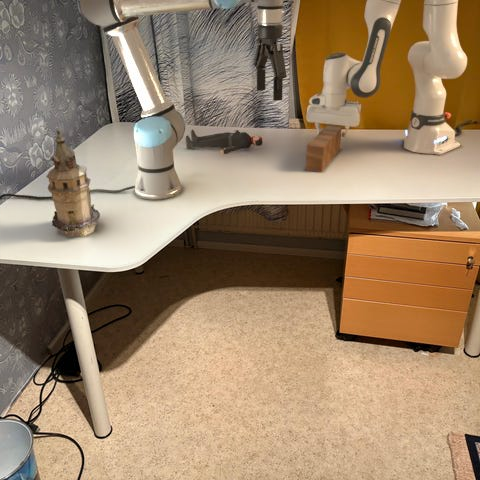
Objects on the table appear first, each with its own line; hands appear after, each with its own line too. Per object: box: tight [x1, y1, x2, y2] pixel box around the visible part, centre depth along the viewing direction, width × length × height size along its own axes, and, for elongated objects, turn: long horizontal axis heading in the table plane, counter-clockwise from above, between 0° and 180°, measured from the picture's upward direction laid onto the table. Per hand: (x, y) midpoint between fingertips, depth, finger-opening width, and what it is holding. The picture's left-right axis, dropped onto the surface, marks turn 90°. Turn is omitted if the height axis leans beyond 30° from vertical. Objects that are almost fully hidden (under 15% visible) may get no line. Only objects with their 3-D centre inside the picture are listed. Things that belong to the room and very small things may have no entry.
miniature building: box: [46, 129, 101, 237], centre depth 148 cm, size 13×14×30 cm
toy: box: [185, 129, 264, 156], centre depth 213 cm, size 26×6×30 cm
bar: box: [305, 124, 343, 173], centre depth 199 cm, size 25×6×9 cm, turn 156°
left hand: (269, 95), depth 171 cm, fingers open, 13 cm apart
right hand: (331, 135), depth 205 cm, fingers open, 8 cm apart
